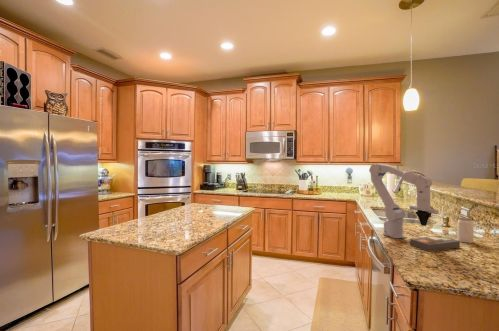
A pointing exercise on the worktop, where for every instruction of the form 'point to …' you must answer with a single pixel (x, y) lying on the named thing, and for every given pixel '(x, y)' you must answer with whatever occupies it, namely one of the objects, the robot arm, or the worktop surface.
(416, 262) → the worktop surface
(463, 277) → the worktop surface
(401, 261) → the worktop surface
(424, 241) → the terracotta key
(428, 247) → the keypad
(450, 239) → the sage key
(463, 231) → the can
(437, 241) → the cream key
